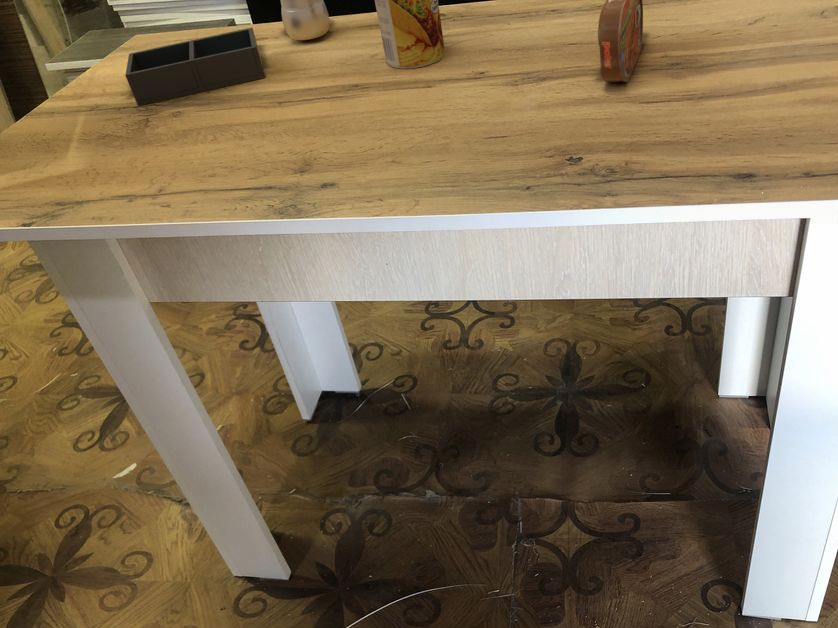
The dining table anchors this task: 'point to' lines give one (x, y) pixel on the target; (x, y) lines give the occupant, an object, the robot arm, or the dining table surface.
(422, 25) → the canned food
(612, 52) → the tin
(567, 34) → the dining table surface
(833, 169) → the dining table surface
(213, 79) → the divided storage box
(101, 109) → the dining table surface
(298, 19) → the plastic bottle
